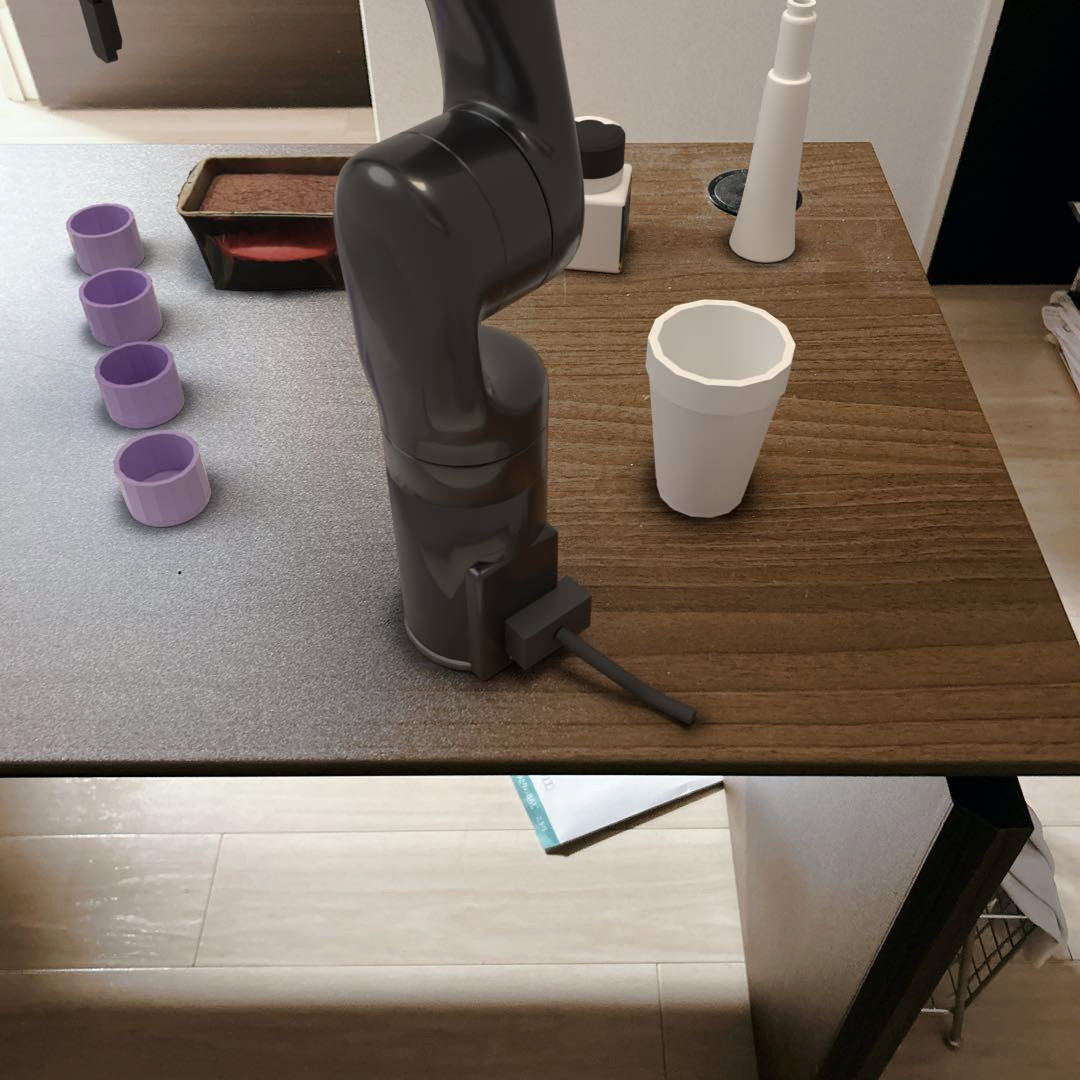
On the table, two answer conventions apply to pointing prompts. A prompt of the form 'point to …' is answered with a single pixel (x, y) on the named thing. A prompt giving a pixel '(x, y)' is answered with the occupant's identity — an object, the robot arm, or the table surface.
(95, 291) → the dish
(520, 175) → the robot arm
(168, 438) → the dish
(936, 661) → the table surface
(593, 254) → the medicine bottle
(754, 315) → the foam cup
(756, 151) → the cosmetic bottle
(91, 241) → the dish far
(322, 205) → the baking dish
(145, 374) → the dish
